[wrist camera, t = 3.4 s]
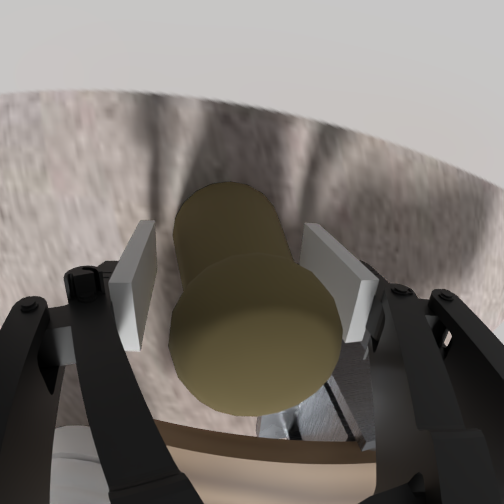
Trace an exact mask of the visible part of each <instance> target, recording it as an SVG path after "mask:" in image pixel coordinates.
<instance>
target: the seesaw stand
mask: <svg viewBox="0 0 504 504" xmlns="http://www.w3.org/2000/svg"><path fill="white" fill-rule="evenodd" d="M370 335H371V334H370V333H369V331H368V330H367V329H366V330H365V333H364V336H363V339H362V341H358V342H350V343H345V342H344V340H343V339H342V344H341V351H340V356H339V360H338V362H337V364H336V366H335V368H334V370H333V372H332V374H331V376H330V378H329V379H328V380H327V381H326V382H325V383H324V385H323V386H322V387H321V388H320V389H319V390H318V391H317V392H316V393H315V394H313V395H312V396H310V397H309V398H307V399H306V400H304V401H303V402H301V403H300V404H298V405H296V406H294V407H291V408H289V409H286V410H284V411H281V412H279V413H273V414H268V415H263V416H258V418H257V425H256V434H257V437H262V438H273V439H280V438H287V440H302V441H335V442H349V441H357V443H358V445H359V447H360V450H361V451H365V450H369V449H372V448H376V442H375V421H374V405H373V392H372V380H371V369H370V360H369V355H368V356H367V357H366V360H363V357H364V353H365V350H366V347H367V344H368V341H369V338H370Z"/></svg>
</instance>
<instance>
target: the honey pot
mask: <svg viewBox="0 0 504 504" xmlns="http://www.w3.org/2000/svg"><path fill="white" fill-rule="evenodd" d="M108 492H109V487H108V484H107V481H106V478H105V476H104V473H103V470H102V467H101V464H100V460H99V457H98V454H97V451H96V447H95V444H94V440H93V437H92V433H91V429H90V427H89V426H82V425H69V426H63V427H59V428H56V429H55V432H54V441H53V451H52V463H51V479H50V504H111V503H110V500H109V496H108Z"/></svg>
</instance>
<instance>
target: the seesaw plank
mask: <svg viewBox="0 0 504 504" xmlns="http://www.w3.org/2000/svg"><path fill="white" fill-rule="evenodd" d="M153 420H154V422H155V424H156V426H157V428H158V430H159V432H160V434H161V436H162V438H163V440H164V442H165V444H166V446H167V448H168V450H169V452H170V454H171V456H172V458H173V460H174V462H175V463H176V465H177V467H178V469H179V470H180V471H181V472H183V473H185V475H186V476H187V477H188V478H189V480H190V482H191V483H192V485H193V486H194V488H195V490H196V491H197V493H198V495H199V496H200V498H201V499H202V501H203V503H204V504H358V503H360V502H361V501H363V500H365V499H366V498H368V497H370V496H372V495H373V494H374V491H375V488H376V448H372V449H369V450H365V451H361V450H360V447H359V445H358V443H357V441H349V442H335V441H302V440H285V439H273V438H262V437H253V436H244V435H236V434H229V433H222V432H216V431H210V430H204V429H198V428H193V427H188V426H183V425H178V424H173V423H168V422H164V421H160V420H155V419H153Z"/></svg>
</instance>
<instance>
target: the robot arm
mask: <svg viewBox="0 0 504 504" xmlns="http://www.w3.org/2000/svg"><path fill="white" fill-rule="evenodd" d="M299 265H300V266H302V267H304V268H306V269H308V270H310V271H312V272H313V274H314V275H315V276H316V277H317V278H318V279H319V280H320V282H321V283H322V284H323V285H324V286H325V287H326V289H327V290H328V291H329V292H330V294H331V295H332V296H333V298H334V300H335V303H336V306H337V310H338V313H339V316H340V320H341V324H342V328H343V335H342V339H343V340H344V342H345V343H350V342H358V341H362V339H363V336H364V333H365V330H366V329H367V330H368V331H369V333H370V334H371V335H370V338H369V341H368V344H367V347H366V350H365V353H364V357H363V360H366V357H367V356H368V355H369V360H370V369H371V380H372V392H373V405H374V421H375V442H376V488H375V491H374V494H373V495H372V496H370V497H368V498H366V499H365V500H363V501H361V502H360V503H358V504H504V345H503V344H502V343H501V342H500V341H499V339H498V338H497V337H496V336H495V335H494V334H493V333H492V332H491V331H490V329H489V328H488V327H487V326H486V325H485V324H484V323H483V322H482V321H481V320H480V319H479V318H478V317H477V316H476V315H475V314H474V313H473V312H472V311H471V310H470V309H469V307H468V306H467V305H466V304H465V303H464V302H463V301H462V300H461V299H460V298H459V297H458V296H456V295H455V294H453V293H451V292H450V291H449V290H446V289H434V290H433V291H432V293H431V296H430V299H429V300H427V299H418V298H417V296H416V294H415V293H414V291H413V290H412V289H410V288H408V287H406V286H403V285H400V284H389V283H388V282H387V281H386V280H385V279H384V278H383V277H382V276H381V275H379V273H378V272H377V271H375V270H374V269H373V268H372V267H371V266H370V265H369V264H367V263H365V262H363V261H361V260H358V259H357V258H356V257H355V256H354V255H352V254H351V253H350V252H349V251H348V250H347V249H346V248H345V247H344V246H343V245H342V244H340V243H339V242H338V241H337V240H336V239H335V238H334V237H333V236H332V235H330V234H329V233H328V232H327V231H326V230H325V229H324V228H323V227H321V226H320V225H319V224H318V223H304V230H303V238H302V245H301V253H300V260H299ZM156 273H157V257H156V230H155V220H140V222H139V224H138V226H137V227H136V229H135V231H134V233H133V235H132V237H131V239H130V240H129V242H128V244H127V246H126V248H125V250H124V252H123V254H122V256H121V258H120V260H119V261H105V262H104V263H102V264H101V265H99V266H98V267H95V266H80V267H76V268H73V269H71V270H69V271H68V272H67V273H65V275H64V283H65V288H66V293H67V298H68V305H65V306H60V307H54V308H48V306H47V302H46V300H45V299H44V298H42V297H37V296H32V297H30V296H28V297H26V298H22V299H21V300H20V301H18V302H16V303H15V305H14V306H13V307H12V309H11V311H10V313H9V314H8V316H7V318H6V320H5V322H4V324H3V326H2V328H1V330H0V504H50V479H51V463H52V451H53V441H54V432H55V424H56V417H57V410H58V403H59V397H60V391H61V385H62V380H63V375H64V369H65V365H69V364H76V365H77V371H78V376H79V382H80V387H81V391H82V396H83V401H84V405H85V409H86V414H87V418H88V422H89V426H90V429H91V433H92V437H93V440H94V444H95V447H96V451H97V454H98V457H99V460H100V464H101V467H102V470H103V473H104V476H105V478H106V481H107V484H108V487H109V492H108V496H109V500H110V503H111V504H204V503H203V501H202V499H201V498H200V496H199V495H198V493H197V491H196V490H195V488H194V486H193V485H192V483H191V482H190V480H189V478H188V477H187V476H186V475H185V473H183V472H181V471H180V470H179V469H178V467H177V465H176V463H175V462H174V460H173V458H172V456H171V454H170V452H169V450H168V448H167V446H166V444H165V442H164V440H163V438H162V436H161V434H160V432H159V430H158V428H157V426H156V424H155V422H154V420H153V418H152V415H151V413H150V411H149V409H148V407H147V404H146V402H145V400H144V397H143V395H142V393H141V390H140V388H139V386H138V383H137V381H136V378H135V376H134V374H133V371H132V369H131V366H130V363H129V361H128V358H127V356H126V353H125V351H141V346H142V340H143V335H144V330H145V325H146V320H147V315H148V310H149V305H150V300H151V296H152V291H153V287H154V282H155V278H156ZM448 331H450V333H451V335H452V338H451V340H450V342H449V344H448V346H446V345H445V344H444V341H445V338H446V336H447V334H448Z"/></svg>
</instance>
